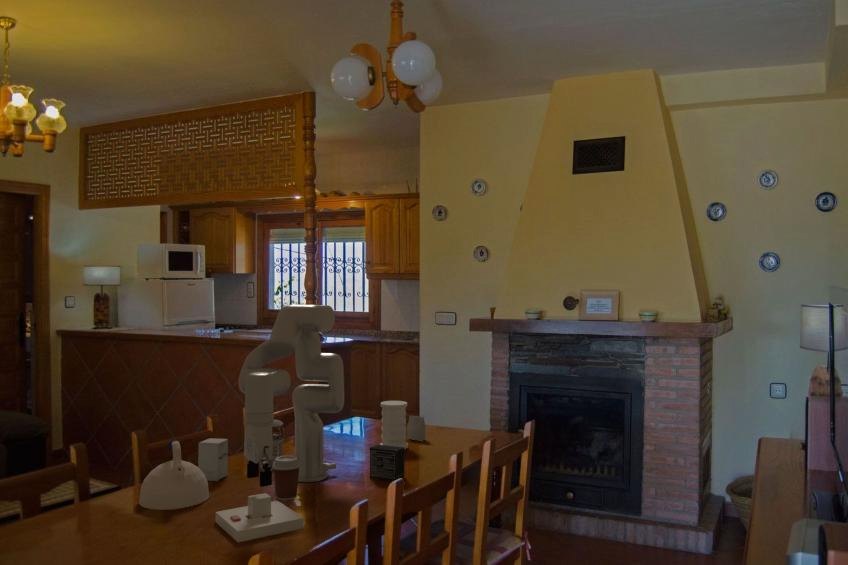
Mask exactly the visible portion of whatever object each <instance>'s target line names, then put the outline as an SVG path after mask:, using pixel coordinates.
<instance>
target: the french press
mask: <svg viewBox="0 0 848 565" xmlns="http://www.w3.org/2000/svg"><path fill="white" fill-rule="evenodd" d="M274 397H276V396H274ZM273 421H274V423H273V424H271V426H272V437H273V463H274V461H275V458H277V457H280V456H284V455H283V450H284V448H283V444H284V443H283V442H284V440H285V436H283V433H281V428H282V430H283V432H285V429H284V427H283V425H284V422H282V421H281V420H279V419H274V418H273ZM273 428H276V430H279V432H273V431H274V430H273ZM282 436H283V437H282ZM262 460H264V459H262ZM263 465H265V463H263Z"/></svg>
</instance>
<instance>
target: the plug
mask: <svg viewBox="0 0 848 565" xmlns="http://www.w3.org/2000/svg"><path fill="white" fill-rule="evenodd" d="M271 502H272V496H271V495H269V494H268V493H266V492H265V493H259V494H253V495H248V496H247V506H248V515H249V519H251V518H253V519H254V518H260V517H264V518H266V517H270V515H271Z"/></svg>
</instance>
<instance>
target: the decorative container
mask: <svg viewBox="0 0 848 565" xmlns="http://www.w3.org/2000/svg"><path fill="white" fill-rule="evenodd" d="M407 407H408V402H407V401H403V400H386V401H385V400H384V401H381V402H380V408H382V409H381V421H380V422H381V436H380V438H381V442H380V443H379V445H387V446H397V447H404V449H405V450H407V449H408V448H409V444H408V442H406V440H407V426H406V423H407V418H406V415H407V410H406V409H407ZM406 448H407V449H406Z"/></svg>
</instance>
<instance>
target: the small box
mask: <svg viewBox="0 0 848 565" xmlns="http://www.w3.org/2000/svg"><path fill="white" fill-rule="evenodd" d="M403 477H404V478H405V450H404V447H397V446H387V445H380V444H377V445H374V446H371V447H369V478H370V479H373V480H382V481H389V482H394V481H393V480H396V479H398V478H402V479H404V478H403Z"/></svg>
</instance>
